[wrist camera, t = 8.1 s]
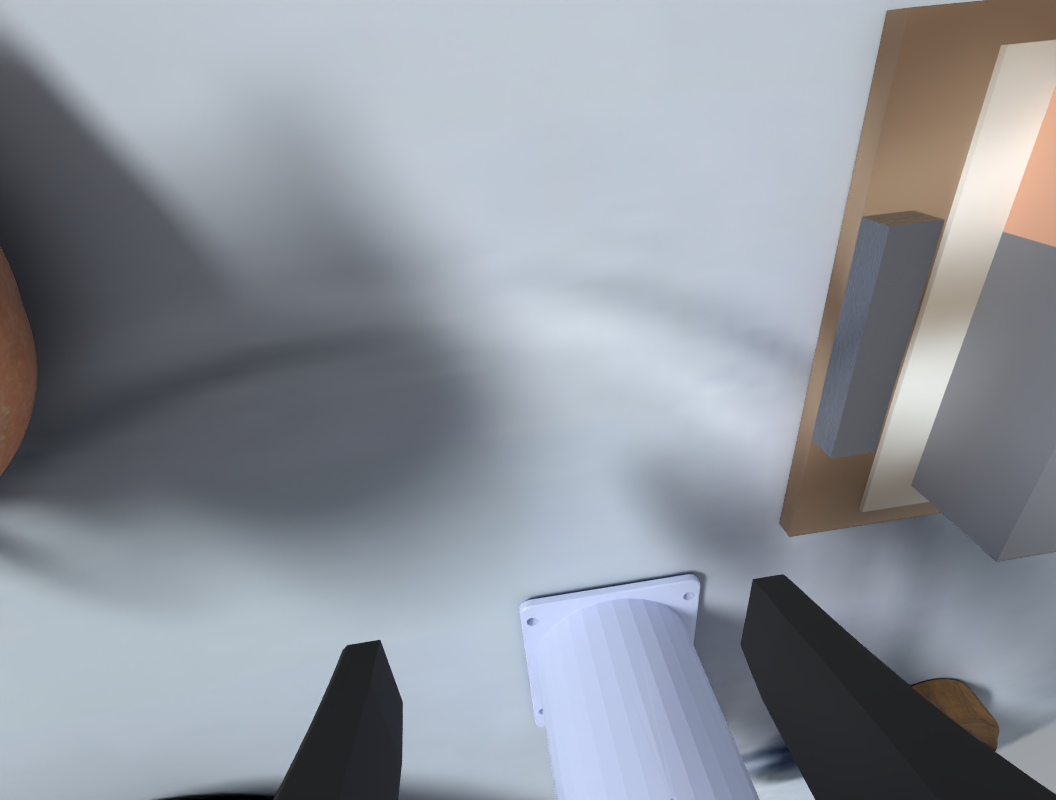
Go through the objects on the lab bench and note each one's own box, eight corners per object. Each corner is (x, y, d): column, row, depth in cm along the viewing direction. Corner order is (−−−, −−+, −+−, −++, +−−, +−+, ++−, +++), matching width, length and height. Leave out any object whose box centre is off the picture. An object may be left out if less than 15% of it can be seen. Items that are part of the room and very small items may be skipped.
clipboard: (1061, 479, 24) (1107, 510, 23) (779, 523, 24) (805, 558, 22) (1340, -34, 15) (1454, -47, 13) (887, 10, 14) (947, 2, 12)
